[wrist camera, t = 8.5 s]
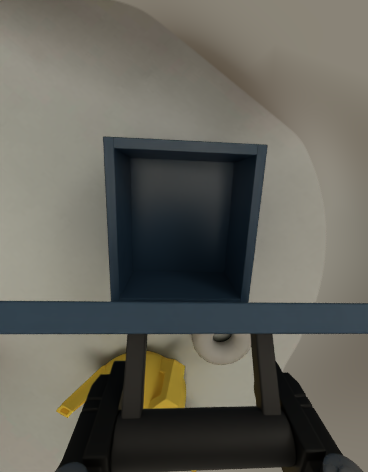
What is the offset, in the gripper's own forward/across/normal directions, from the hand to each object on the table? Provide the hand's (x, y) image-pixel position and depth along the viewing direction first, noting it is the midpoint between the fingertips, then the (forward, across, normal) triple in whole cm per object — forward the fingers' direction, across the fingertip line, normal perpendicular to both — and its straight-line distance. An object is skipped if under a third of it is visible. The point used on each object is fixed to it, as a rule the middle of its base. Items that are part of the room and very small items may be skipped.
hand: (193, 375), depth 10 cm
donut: (+23, -7, +16) cm, 29 cm away
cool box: (+23, 0, -3) cm, 23 cm away
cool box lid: (+6, 0, 0) cm, 6 cm away
